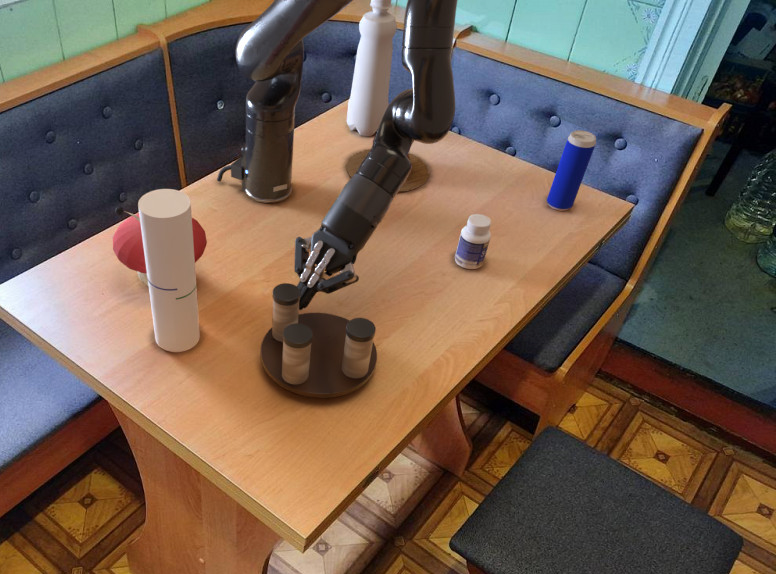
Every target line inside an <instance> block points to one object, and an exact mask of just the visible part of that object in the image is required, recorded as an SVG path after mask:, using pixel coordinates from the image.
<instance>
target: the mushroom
mask: <svg viewBox="0 0 776 574" xmlns="http://www.w3.org/2000/svg"><path fill="white" fill-rule="evenodd" d="M114 212H115V214H116V215H117V216H122V215H124V213H126V214H128V215H130V216H129V217H127V218H126V219H125V220H124V221H123V222H122V223H120V224H119V225H118V227H117V229H115V232H114V234H113V236H112V250H113V253H114V254H115V256H116V258H117V259H118V261H119V262H120V263H121V264H122V265H124V266H126V267H127V268H128V269H130V270H133V271H135V272H136V273H137V277H138V278H139V280H140V282H141V283H142V284H144V285H145V286H146V287H148V288H149V286H148V278H147V270H146V262H145V254H144V247H143V239H142V231H141V224H140V216H139V212H137V213H136V214H134V213H131V212H128V211H125V209H124V207H122V206H117V207H115V209H114ZM192 229H193V244H194V258H195V263H197V262H198V261H199V259H200V258H201V257H202V256H203V255H204V254H205V253H204V252H205V250H206V247H207V243H208V240H207V235H206V231H205V229H204V228H203V226H202V225H201V223H199V221H198V219H195V218H194V217H192Z"/></svg>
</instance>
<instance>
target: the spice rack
mask: <svg viewBox="0 0 776 574" xmlns="http://www.w3.org/2000/svg"><path fill="white" fill-rule="evenodd" d="M300 294H301V292H300V289H299V288H298V287H297V285H295V284H293V283H289V282H288V283H286V282H283V283H279V284H277V285H276V286H274V287H273V289H272V295H271V297H272V320H271V321H272V322H271V327H270V328H269V330H268V331H267V332H266V333H265V335H264V336H263V338H262V342H261V346H260V360H261V364H262V366H263V369H264V371H265V373H266V374H267V376H269V378H271V380H272V381H274V382H275V383H276V384H278V385H279V386H280V387H281V388H283V389H285V390H287V391H289V392H292V393H295V394H296V395H299V396H303V397H310V398H317V399H320V398H321V399H326V398H336V397H341V396H345V395H347V394H350V393H352V392H354V391H357V390H359V389H360V388H362V386H364V385H365V384H367V382H368V381H369V380H370V379H371V377H372V376H373V374H374V373H375V369H376V367H377V361H378V352H377V347H376V344H375V342H374V339H375V335H376V331H377V328H376V325H375V324H374V322H373V321H372V320H370V319H368V318H366V317H354V318H351V319H349V318H345V317H343V316H340V315H336V314H333V313H327V312H303V313H299V312H300V310H299V300H300Z"/></svg>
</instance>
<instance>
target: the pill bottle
mask: <svg viewBox="0 0 776 574" xmlns="http://www.w3.org/2000/svg"><path fill="white" fill-rule="evenodd" d="M491 225H492V220H491V218H489V216H487V215H485V214H482V213H473V214H471V215H470V216H468V217H467V221H466V225H464V226H463V227H462V229H461V231H460V235H459V239H458V244H457V247H456V252H455V254H454V262H455V263H456V265H458V266H459V267H461V268H464V269H467V270H476V269H479V268H481V267H482V266H483V265H484V262H485V259H486V255H487V251H488V249H489V246H490V245H489V244H490V241H491V238H492V237H491V236H492V234H491V233H492V232H491V231H490V228H491Z"/></svg>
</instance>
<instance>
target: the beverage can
mask: <svg viewBox="0 0 776 574" xmlns="http://www.w3.org/2000/svg"><path fill="white" fill-rule="evenodd" d="M596 144H597V136H596V135H595V134H594V133H592V132H590V131H587V130H582V129H576V130H574V131H571V133H570V134H569V135H568V137H567V139H566V142H565V145H564V148H563V151H562V153H561V157H560V160H559V162H558V165H557V168H556V171H555V174H554V176H553V179H552V183H551V186H550V189H549V191H548V195H547V197H546V202H547V204H548V206H549V207H550V208H551V209H553V210H555V211H559V212H564V211H568V210H570V209H571V208H572V207H573V206H574V203H575V201H576V198H577V195H578V193H579V190H580V187H581V186H582V185H581V184H582V182H583V179H584V176H585V174H586V171H587V168H588V166H589V163H590V160H591V158H592V155H593V152H594V150H595V147H596Z"/></svg>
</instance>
